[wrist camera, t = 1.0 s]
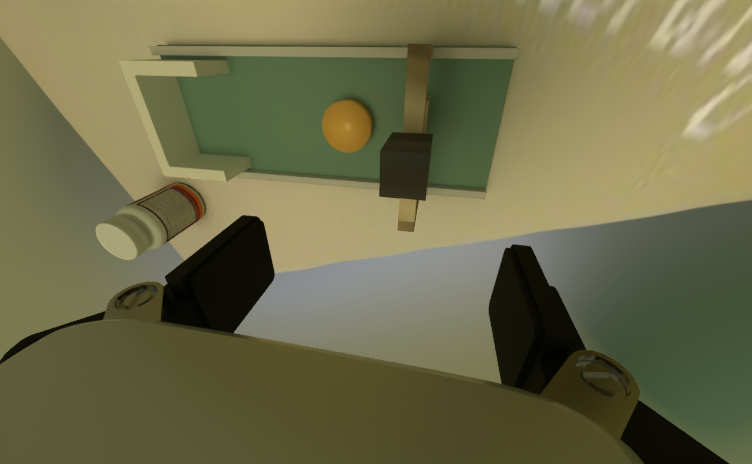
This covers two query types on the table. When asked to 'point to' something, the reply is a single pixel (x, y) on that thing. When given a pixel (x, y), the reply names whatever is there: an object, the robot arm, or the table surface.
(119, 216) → the pill bottle
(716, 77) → the table surface
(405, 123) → the striker
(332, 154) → the pitch
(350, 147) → the yellow domed round part
